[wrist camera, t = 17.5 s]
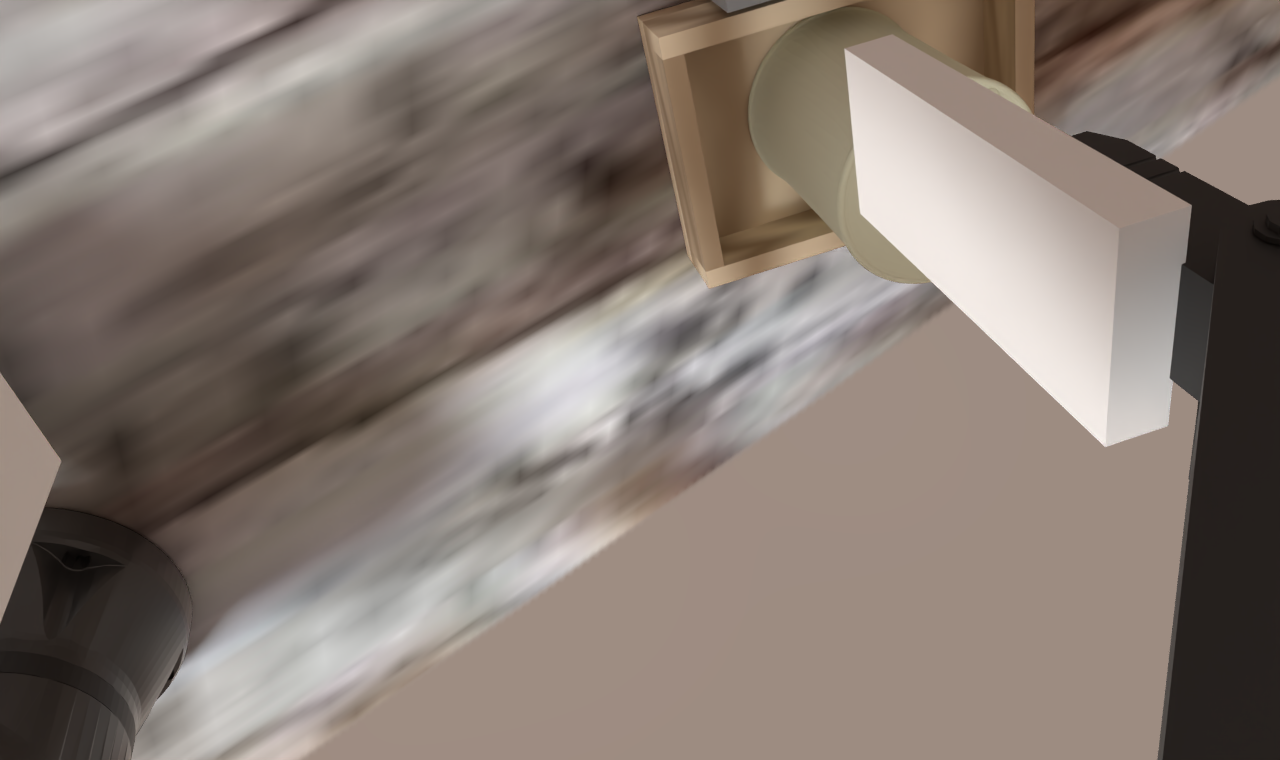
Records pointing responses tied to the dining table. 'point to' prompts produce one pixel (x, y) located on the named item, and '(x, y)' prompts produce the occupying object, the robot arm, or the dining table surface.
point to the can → (831, 125)
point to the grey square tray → (736, 4)
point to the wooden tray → (718, 113)
